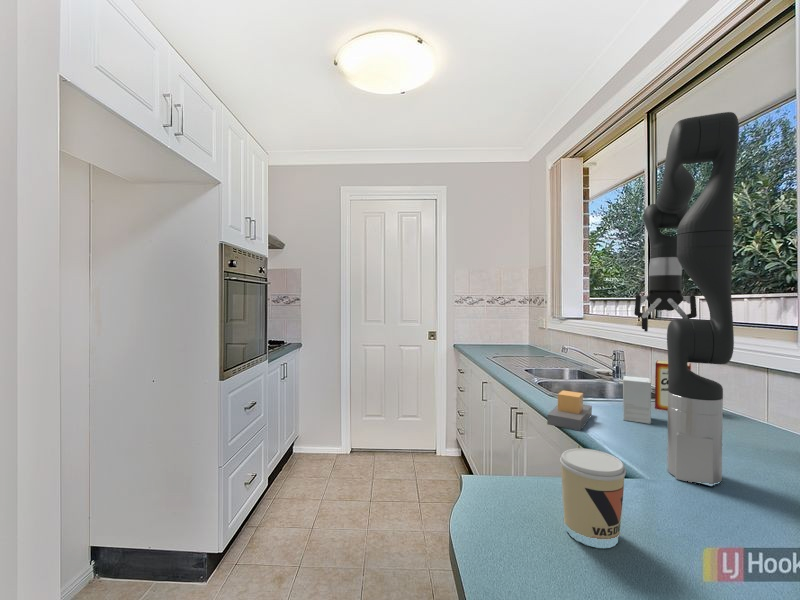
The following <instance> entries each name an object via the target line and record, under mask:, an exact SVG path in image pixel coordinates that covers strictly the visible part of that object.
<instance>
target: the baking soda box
mask: <svg viewBox="0 0 800 600" xmlns="http://www.w3.org/2000/svg"><path fill="white" fill-rule="evenodd" d="M687 365H688V369H689V370H691V371H692V363H690V362H688V363H687ZM654 371H655V377H654V378H655V380H654V381H655V383H654V384H655V387H654V409H656V410H661V411H667V412H668V360H667V361H666V360H658V359H657V360H656V362H655V370H654Z"/></svg>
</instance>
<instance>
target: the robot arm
mask: <svg viewBox="0 0 800 600" xmlns="http://www.w3.org/2000/svg"><path fill="white" fill-rule="evenodd" d="M739 125H740V124H739V119H738V116H737V114H736V113H735V112H732V111H726V112H725V111H724V112H717V113H712V114H705V115H699V116H692V117H688V118H684V119H681V120H679V121H677V122H675V124H674V125H673V127H672V129H671V131H670V134H669V138H668V143H667V149H666V155H665V162H664V169H663V177H662V183H661V187H660V189H659V191H658V194H657V198H656V203H653V204H652V203H651V204H649V205H648V206H646V208H645V209H644V211H643V215H642V218H643V219H642V221H643V223H644V226H645V229H646V231H647V236H648V239H649V240H648V241H649V246H650V247H649V249H650V252H649V254H650V255H649V256H650V257H649V258H650V259H649V266H648V294H647V295H640V294H637V295H636V296H635V302H634V315H635V316H636V317H640V318H641V329H642V330H644V332H649V319H648V317H649V315H650V314H651V313H652V312H653V311H654V310H656V311H667V312H671V311H674V310H675V311H676V312H677V313H678V314H679V315H680V317H681V318H676V319H672V320H671V321H669V323H668V326H667V332H666V345H667V347H666V349H667V361H668V411H667V431H666V432H667V438H666V439H667V442H666V443H667V445H666V446H667V448H666V450H667V452H666V453H667V457H666V460H667V462H666V463H667V464H666V465H667V467H666V468H667V470H666V471H667V472H668V473H669V474H671V475H672V476H674V478H675V479H676V480H679V481H684V482H687V481H688V483H692V482H701V483H709V484H714V483H718V482H721V481H722V482H723V415H724V414H723V409H724V408H723V407H724V404H723V403H724V401H723V400H724V388H723V385H722V384H720V383H719V382H717V381H715V380H713V379H710V378H706V377H704V376H702V375H699V374H697V373H695V372H694V371H692V369H691V370H689V369H688V365H687V363H691V364H692V363H694V364H710V365H727V364H728V363H729V362H730V361H731V359H732V357H733V354H734V349H735V348H734V347H735V341H734V340H735V339H734V337H735V335H734V332H735V331H734V320H733V305H732V304H733V303H732V302H733V300H732V272H733V271H732V270H733V257H734V256H733V254H734V234H735V233H734V229H735V228H734V189H735V188H734V187H735V186H734V185H735V175H736V167H737V166H736V164H737V157H738V149H739V148H738V147H739V138H740V137H739V135H740V126H739ZM708 162H711V163H712V168H711V173H710V177H709V179H708V181H707V183H706V184H705V187H704V188H703V190H702V191H701V193H700V194H699V195H698V197H697V198H696V200H695V201H694V202H693V204H692V205H691V207H689V202H690V200H691V199H692V196H693V195H694V194H695V193H694V192H695V190H696V181H695V178H694V176H693V174H692V173H691V172H690V171H689V170H688V169H687V168H686V167H685V166H684V165H691V164H692V165H693V164H701V163H708ZM676 228H677V230H676V235H677V236H672V235H667V234H664V233H662V231H660V230H661V229H676ZM683 270H684V272H685V273H686V274H687V275H688V277H689V278H690V280H692V281H693V283H694V284H695V286H697V288H698V289H699V291H700V293H701V294H702V296H703V297H704V299H705V302H706V304H707V306H708V311H709V319H698V318H697V316H698V315H697V314H698V313H697V298H696V295H683V293H682V278H683V277H682V274H683ZM645 300H647V302H648V303H649V304H650V305H649V307H648V308H647V309H646V310H645V311H644V312H641V307H642V306H641V305H642V304H643V303H645ZM684 300H685V301H686V303H687V304H688V305H689V304H690V305H689V306H690V307H689V308H690V313H688V314H687V313H686V312H685V311H684V310H683V309H682V308H681V307H680V306H679V305H680V304H681V303H682V302H683V301H684ZM694 318H695V319H694ZM696 318H697V319H696ZM722 482H721V483H722Z"/></svg>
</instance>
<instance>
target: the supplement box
mask: <svg viewBox="0 0 800 600" xmlns="http://www.w3.org/2000/svg"><path fill="white" fill-rule="evenodd" d="M622 409H623V410H622V419H623V421H626V422H628V421H629V422H634V423H635V422H636V423H642V424H649V425H651V424H652V382H651V378H650V377H640V376H629V375H623V378H622Z"/></svg>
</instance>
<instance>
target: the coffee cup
mask: <svg viewBox="0 0 800 600" xmlns="http://www.w3.org/2000/svg"><path fill="white" fill-rule="evenodd" d="M559 460H560V467H561V468H560V470H561V487H562V488H561V489H562V491H561V492H562V503H563V520H564V525H565V524H566V525H567V526H568V527H569V528H570V529H571V530H573V531H575V532H576V533H579V534H581V535H584V536H586V537H590V538H597V539H611V538H615V537H617V536H618V535H619V534H620V533H621V523H622V513H623V499H624V489H625V477H626V475H627V474H626V473H627V472H626V471H627V470H626V466H625V465H624V463H623V462H622V461H621V459H619V458H617V457H616V456H614V455H612V454H610V453H607V452H605V451H601V450H597V449H592V448H577V447H575V448H570V449H566V450H565V451H563V452H562V454H561V456H560V458H559ZM620 535H621V534H620ZM620 535H619V536H620Z"/></svg>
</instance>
